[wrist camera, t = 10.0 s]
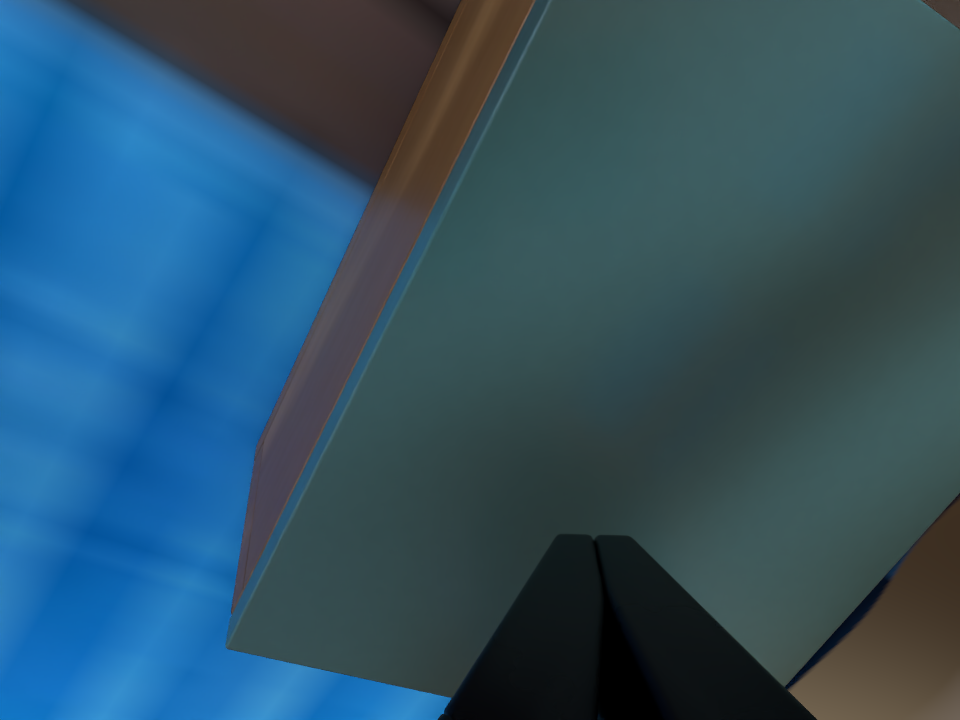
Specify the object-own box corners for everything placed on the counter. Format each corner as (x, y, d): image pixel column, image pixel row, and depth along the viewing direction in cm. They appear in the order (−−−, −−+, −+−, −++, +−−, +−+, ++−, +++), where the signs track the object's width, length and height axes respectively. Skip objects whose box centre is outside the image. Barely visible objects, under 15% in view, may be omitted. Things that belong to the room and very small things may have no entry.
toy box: (919, 119, 20) (1137, 183, 14) (608, 555, 25) (682, 719, 20) (526, -145, 16) (629, -194, 10) (255, 446, 21) (228, 617, 16)
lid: (1170, 204, 15) (1211, 216, 14) (708, 729, 20) (721, 758, 19) (630, -194, 10) (651, -205, 10) (228, 619, 16) (224, 649, 15)
